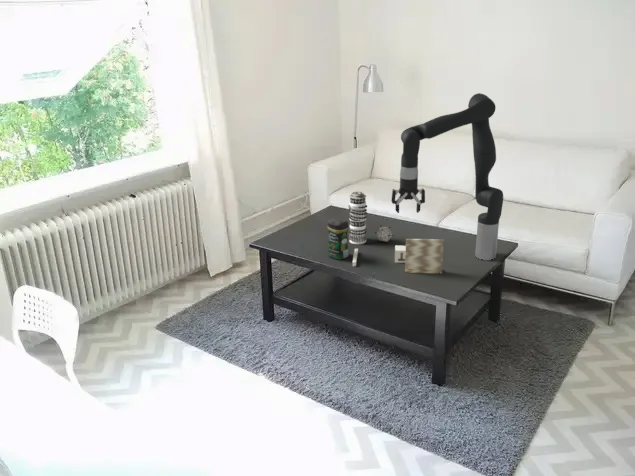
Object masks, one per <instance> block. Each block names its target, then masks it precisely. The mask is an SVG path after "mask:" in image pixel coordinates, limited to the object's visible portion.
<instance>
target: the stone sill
mask: <svg viewBox="0 0 635 476" xmlns="http://www.w3.org/2000/svg"><path fill="white" fill-rule="evenodd" d="M353 251H354V252H353V256H352V267H356V266H357V261H358V260H357V259H358V255H359V248H354V250H353Z"/></svg>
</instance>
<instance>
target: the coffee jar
mask: <svg viewBox="0 0 635 476" xmlns="http://www.w3.org/2000/svg"><path fill="white" fill-rule="evenodd" d="M327 232H328V242H327V243H328V244H327V245H328V246H327V256H328V257H330V258H332V259H336V260H345V259H347V258H348V257H349V253H350V252H349V241H348V239H349V238H348V232H349V222H348V221H347V220H344V219H342V218H338V217H335V216H334V217H332V218H329V219H328V220H327Z"/></svg>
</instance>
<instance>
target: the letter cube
mask: <svg viewBox="0 0 635 476" xmlns="http://www.w3.org/2000/svg"><path fill="white" fill-rule="evenodd" d="M405 254H406V245H395V246H394V263H395V264H397V263H399V264H401V263H402V264H403V263H404V264H405Z"/></svg>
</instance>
